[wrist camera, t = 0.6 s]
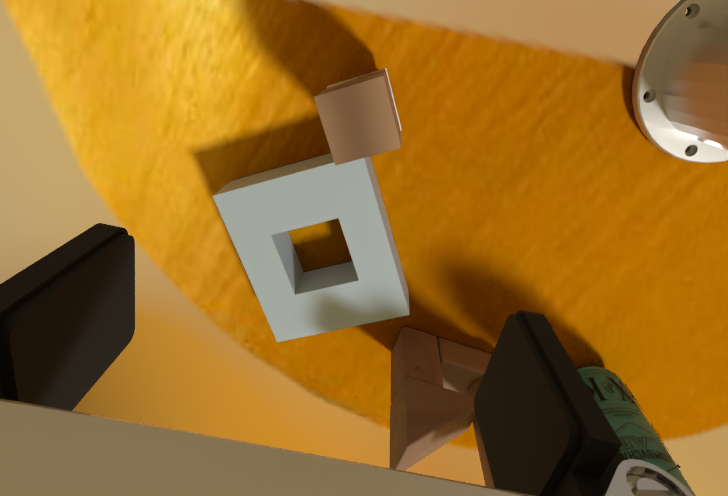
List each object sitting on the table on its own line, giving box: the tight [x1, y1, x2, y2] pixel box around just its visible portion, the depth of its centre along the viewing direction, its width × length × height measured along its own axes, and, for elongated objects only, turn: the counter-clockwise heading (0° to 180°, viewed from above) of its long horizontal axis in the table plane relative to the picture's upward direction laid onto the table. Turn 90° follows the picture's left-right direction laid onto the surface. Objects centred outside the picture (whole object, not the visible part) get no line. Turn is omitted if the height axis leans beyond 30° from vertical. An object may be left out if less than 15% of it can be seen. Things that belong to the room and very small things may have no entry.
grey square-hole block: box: [213, 153, 410, 342], centre depth 37 cm, size 12×14×4 cm
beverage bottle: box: [577, 366, 696, 496], centre depth 35 cm, size 6×7×20 cm
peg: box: [314, 68, 402, 166], centre depth 30 cm, size 4×4×10 cm
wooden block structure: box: [390, 326, 495, 488], centre depth 35 cm, size 4×11×18 cm, turn 71°
